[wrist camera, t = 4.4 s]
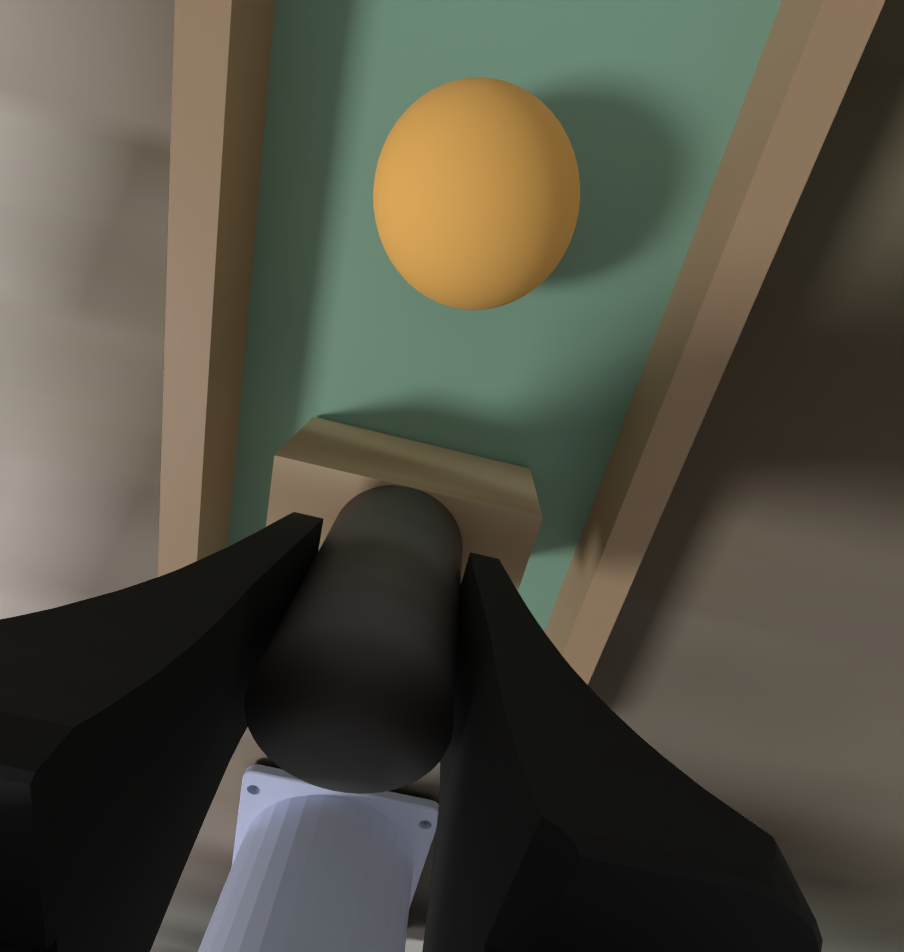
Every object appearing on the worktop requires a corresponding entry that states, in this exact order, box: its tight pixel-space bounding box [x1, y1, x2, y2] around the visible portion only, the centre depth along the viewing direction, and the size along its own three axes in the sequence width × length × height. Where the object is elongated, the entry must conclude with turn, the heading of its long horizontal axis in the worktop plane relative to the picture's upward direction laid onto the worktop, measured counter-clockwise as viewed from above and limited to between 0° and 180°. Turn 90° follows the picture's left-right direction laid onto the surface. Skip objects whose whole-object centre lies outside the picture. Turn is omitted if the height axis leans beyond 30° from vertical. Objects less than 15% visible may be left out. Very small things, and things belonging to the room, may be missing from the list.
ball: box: [373, 77, 580, 310], centre depth 11 cm, size 4×4×4 cm
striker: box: [244, 417, 543, 794], centre depth 11 cm, size 3×6×8 cm, turn 77°
